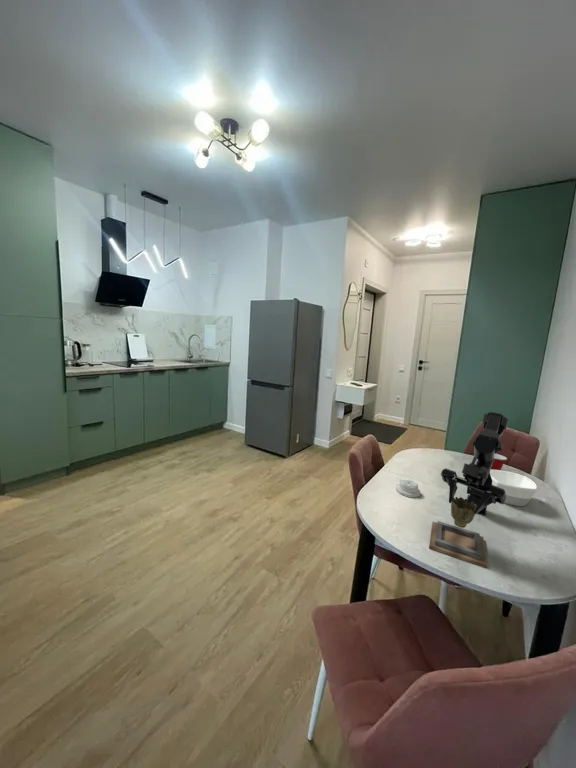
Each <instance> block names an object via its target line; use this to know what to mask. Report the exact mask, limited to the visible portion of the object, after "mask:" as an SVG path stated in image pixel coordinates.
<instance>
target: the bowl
mask: <svg viewBox="0 0 576 768" xmlns="http://www.w3.org/2000/svg"><path fill="white" fill-rule="evenodd" d="M490 475H491V478H492V485H494V486H497V487H499V488H502V489H504V490H505V493H506V500H505V502H504V504H506V505H510V506H517V507H525V506H526V505H527V504H528V502H529V501H530V500H531V499H532V497H534V495H535V494H536V493H537V491H538V486H537V484H536V483H535V482H534V481H533V480H532V479H531V478H529V477H527V476H526V475H522V474H519V473H516V472H512V471H508V470H502V469H501V470H492V469H491V470H490Z"/></svg>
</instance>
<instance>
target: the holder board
mask: <svg viewBox="0 0 576 768" xmlns="http://www.w3.org/2000/svg"><path fill="white" fill-rule="evenodd" d="M431 523H432V524H431V531H430V538H429V547H428V549H429V550H433V551H435V552H438V553H441V554H445V555H448V556H451V557H453V558H455V559H456V558H457V559H459V560H462V561H465V562H467V563H471V564H474V565H477V566H480V567H483V568H485V569H488V561H487V553H486V552H487V551H486V545H485V539H484V536H481V535H480V533H478V532H475V531H473V530H469V529H465V528H461V527H458V526H456V525H452V524H450V523H447V522H443V521H440V520H439V521H438V520H437V522H435V521H432V522H431Z"/></svg>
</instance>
